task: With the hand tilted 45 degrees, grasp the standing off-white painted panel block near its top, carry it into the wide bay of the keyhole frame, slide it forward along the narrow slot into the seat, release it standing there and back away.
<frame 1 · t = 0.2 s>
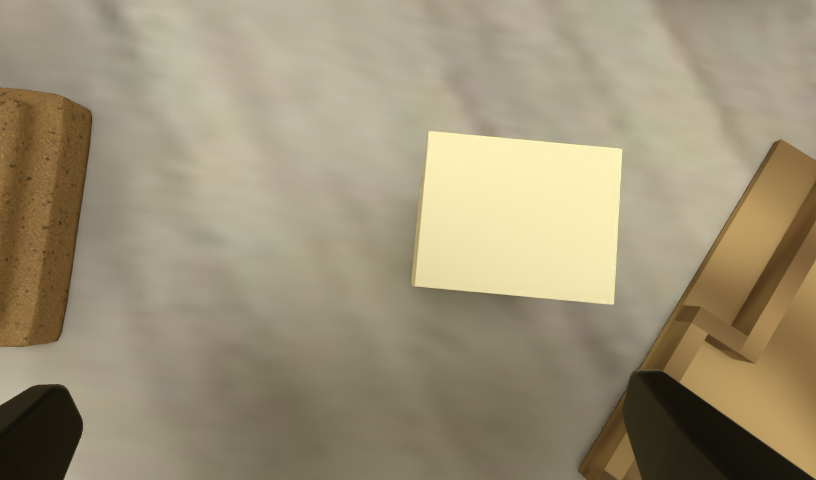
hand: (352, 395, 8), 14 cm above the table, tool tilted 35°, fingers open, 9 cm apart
panel block: (469, 246, 23), on the table
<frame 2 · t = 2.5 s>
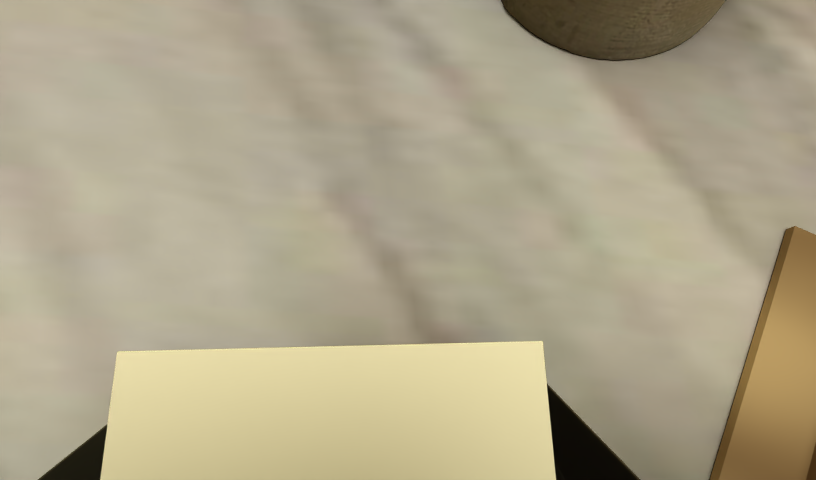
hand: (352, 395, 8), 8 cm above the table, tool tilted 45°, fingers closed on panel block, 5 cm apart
panel block: (378, 436, 15), on the table, touching gripper
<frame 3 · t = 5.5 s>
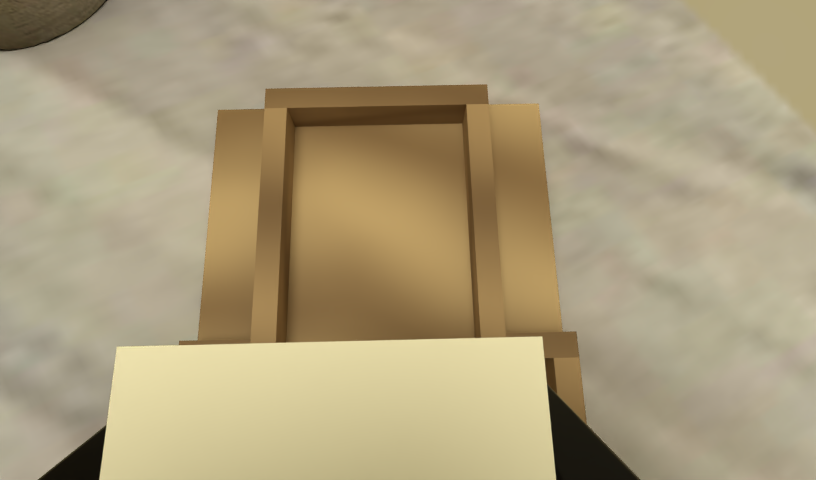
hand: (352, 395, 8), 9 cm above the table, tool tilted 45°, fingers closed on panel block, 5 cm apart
keyhole frame: (380, 239, 18), on the table
panel block: (378, 434, 15), point 2 cm above the table, touching gripper
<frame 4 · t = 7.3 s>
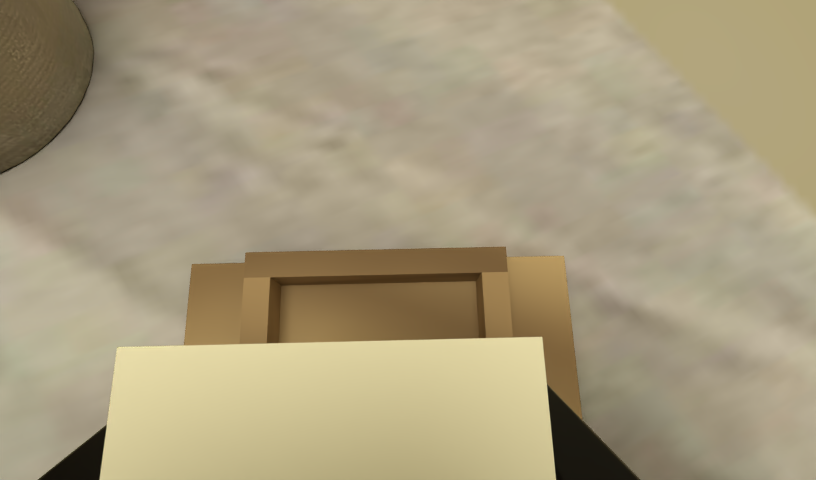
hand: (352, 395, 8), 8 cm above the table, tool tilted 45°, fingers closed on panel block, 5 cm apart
keyhole frame: (380, 425, 16), on the table
panel block: (378, 434, 15), point 1 cm above the table, touching gripper
when the fingers open (8 cm above the table, at t = 8.4 s): panel block stays where it is, resting on keyhole frame.
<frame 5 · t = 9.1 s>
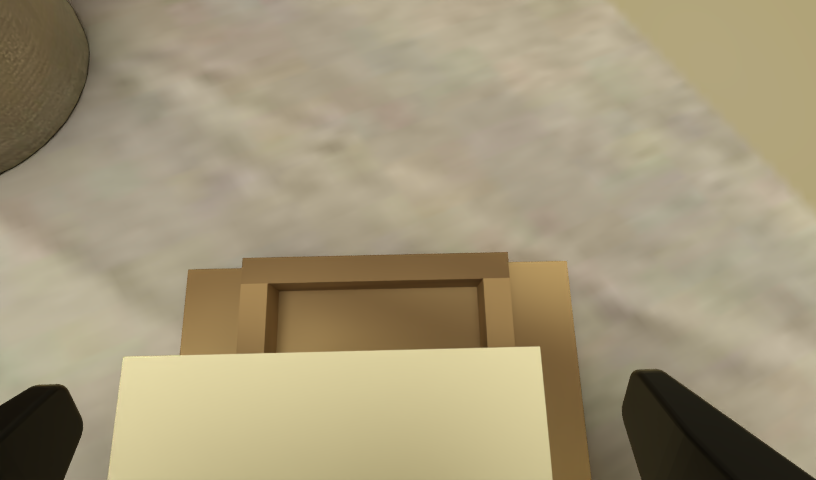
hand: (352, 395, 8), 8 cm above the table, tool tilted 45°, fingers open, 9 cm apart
keyhole frame: (379, 434, 15), on the table
panel block: (379, 436, 15), resting on keyhole frame
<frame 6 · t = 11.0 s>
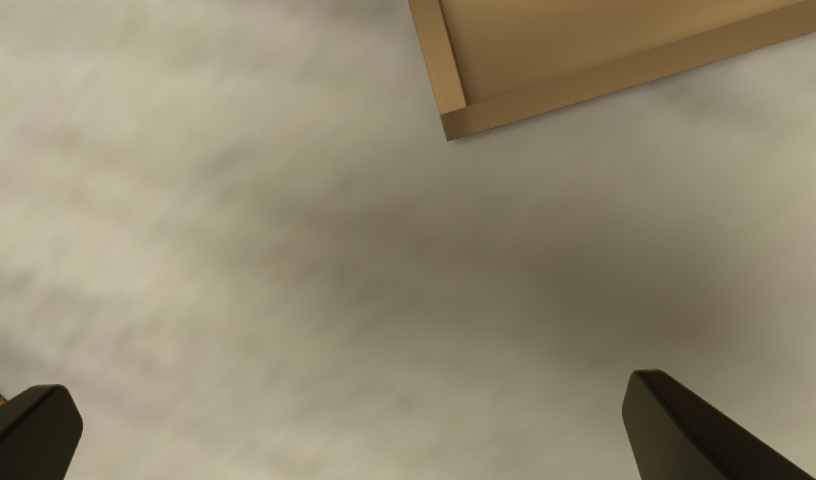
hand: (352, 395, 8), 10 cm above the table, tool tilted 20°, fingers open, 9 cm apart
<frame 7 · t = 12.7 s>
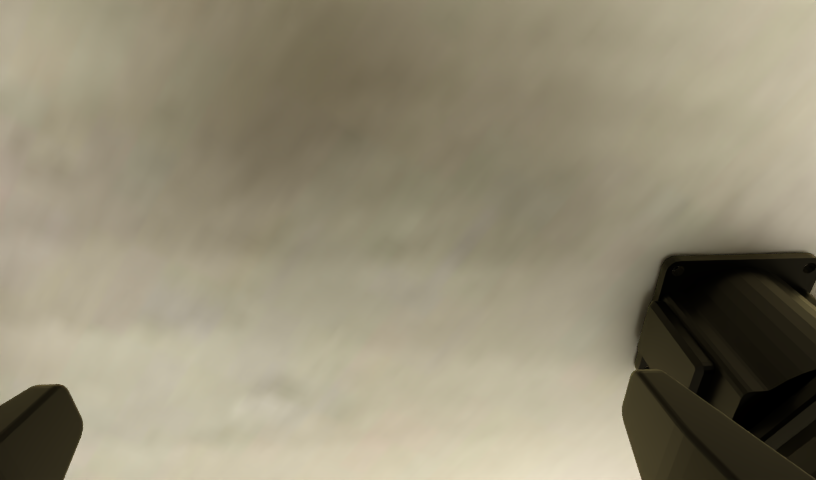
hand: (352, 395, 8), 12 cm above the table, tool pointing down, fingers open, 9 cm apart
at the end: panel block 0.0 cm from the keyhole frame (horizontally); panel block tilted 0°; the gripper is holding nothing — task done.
